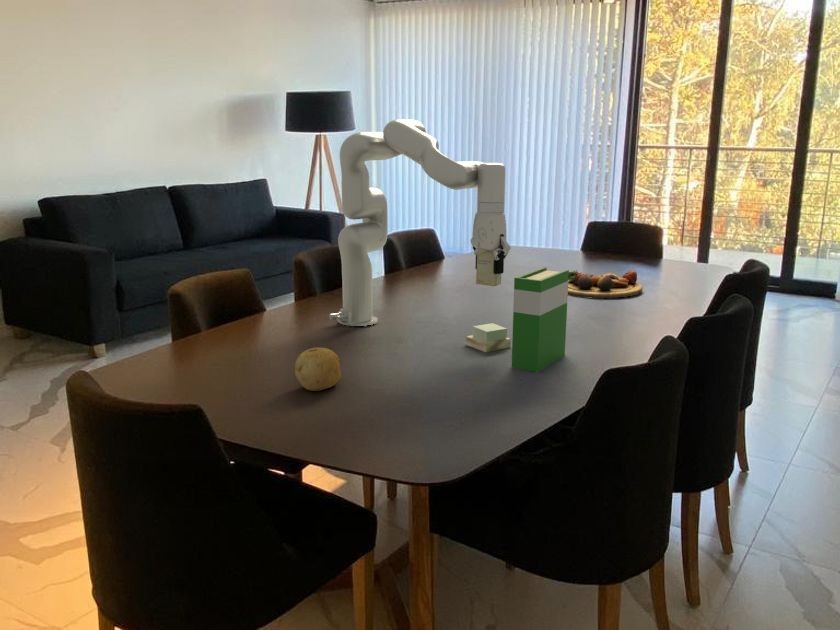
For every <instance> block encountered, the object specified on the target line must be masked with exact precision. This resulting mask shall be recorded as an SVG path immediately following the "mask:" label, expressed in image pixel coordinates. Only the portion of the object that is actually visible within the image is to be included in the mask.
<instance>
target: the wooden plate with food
mask: <svg viewBox="0 0 840 630" xmlns="http://www.w3.org/2000/svg"><path fill="white" fill-rule="evenodd" d="M637 273H638V272H636V271H635V270H630V271H627V272H626V273H624V274H623V275H622V277H620V276H618V275H616V274H615V273H610V272H608V273H606V274H605V273H604V274H601V275H594V274H588V273H582V272H579V271H578V269H576V270H572V271H569V278H568V294H569V295H568V296H572V295H574V296H573V297H577V296H581V297H580V298H584V297H592V298H591V299H604V298H607V299H619V298H618V297H624V298H628V297H627V296H630V297H633V295H634V296H637V295H639V294H641V293H642V291H643V289H644V288H643V286H642V285H641V284H640V283H638V282H637V280H638V274H637Z"/></svg>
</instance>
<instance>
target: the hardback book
mask: <svg viewBox="0 0 840 630" xmlns="http://www.w3.org/2000/svg"><path fill="white" fill-rule="evenodd" d="M547 268H548V267H547V266H546V267H544V266H543V267H540V268H537V269H535V270H532V271H529V272H527V273H523V274H521V275H518V276H516V277H514V279H513V280H514V281H513V306H512V307H513V308H512V309H513V313H512V342H511V343H512V346H511V368H514V369H519V370H524V371H530V372H535V373H538V372H540V371H542V370H543V369H545V368H546V367H548V366H550V365H552V364H554V363H555V362H556V361H558V360H560V359H561V358H563V357H565V356H566V338H567V337H566V335H567V318H568V317H567V315H568V296H569V295H568V278H569V272H570V269H563V270H560V271H555V270H554V271H553V270H547ZM564 355H565V356H564Z"/></svg>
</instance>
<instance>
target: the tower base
mask: <svg viewBox="0 0 840 630" xmlns="http://www.w3.org/2000/svg"><path fill="white" fill-rule="evenodd" d="M465 337H466V338H465V339H466V340H465V345H466V346H469V347H471V348H474V349H476V350H478V351H481V352H484V353H489V352H494V351H498V350H504V349H509V348H511V338H510V337H507V339H502V340H496V341H490V342H485V341H483V340H480V339H478V338H476V337H473V334H471V335H467V336H465Z"/></svg>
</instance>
